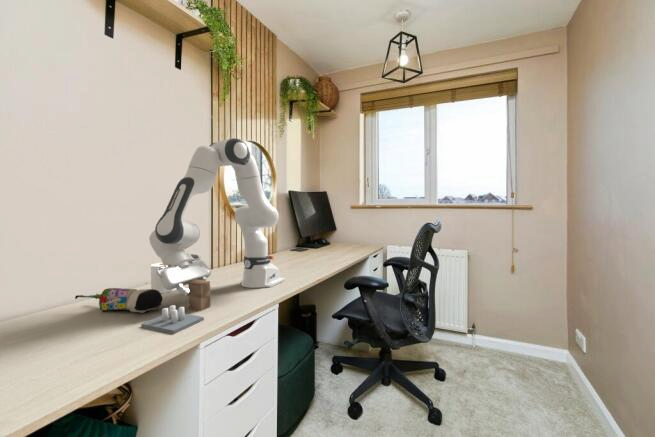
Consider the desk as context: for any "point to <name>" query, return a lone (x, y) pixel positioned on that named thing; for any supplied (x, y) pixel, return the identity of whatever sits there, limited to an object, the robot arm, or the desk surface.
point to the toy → (128, 299)
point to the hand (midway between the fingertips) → (197, 290)
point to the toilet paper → (157, 279)
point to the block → (199, 295)
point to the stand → (172, 320)
